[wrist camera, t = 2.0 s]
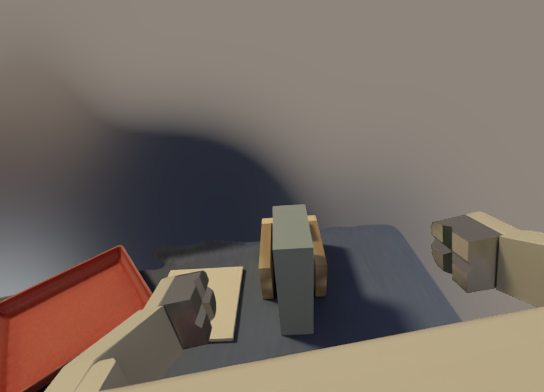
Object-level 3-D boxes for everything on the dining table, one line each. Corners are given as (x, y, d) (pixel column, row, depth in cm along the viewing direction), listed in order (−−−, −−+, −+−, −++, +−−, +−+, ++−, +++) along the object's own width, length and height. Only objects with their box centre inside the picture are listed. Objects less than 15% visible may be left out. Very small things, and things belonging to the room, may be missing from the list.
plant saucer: (-2, 322, 38) (-17, 307, 36) (128, 256, 47) (121, 242, 46) (-11, 442, 25) (-35, 427, 24) (167, 319, 35) (159, 303, 33)
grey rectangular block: (281, 335, 33) (272, 249, 26) (280, 284, 40) (272, 206, 33) (313, 334, 32) (313, 247, 25) (306, 283, 39) (305, 204, 32)
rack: (263, 299, 37) (258, 268, 34) (265, 245, 47) (262, 218, 44) (326, 296, 37) (327, 264, 34) (315, 242, 47) (315, 215, 44)
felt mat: (139, 344, 33) (137, 341, 33) (171, 273, 43) (170, 270, 43) (233, 340, 32) (232, 338, 32) (243, 269, 43) (242, 266, 43)
